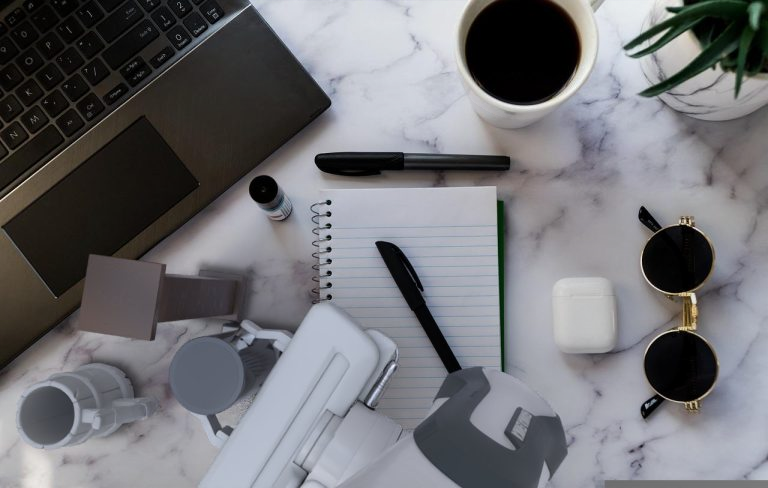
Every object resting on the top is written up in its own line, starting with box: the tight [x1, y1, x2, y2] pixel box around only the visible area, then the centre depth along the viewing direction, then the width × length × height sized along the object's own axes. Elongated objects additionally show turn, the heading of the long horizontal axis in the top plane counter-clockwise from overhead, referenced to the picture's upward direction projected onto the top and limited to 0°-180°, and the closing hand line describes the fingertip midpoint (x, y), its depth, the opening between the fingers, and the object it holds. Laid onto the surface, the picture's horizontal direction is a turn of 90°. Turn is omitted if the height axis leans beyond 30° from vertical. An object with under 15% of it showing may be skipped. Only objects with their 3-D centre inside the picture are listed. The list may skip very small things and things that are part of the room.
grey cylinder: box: [168, 330, 277, 415], centre depth 57 cm, size 6×6×10 cm
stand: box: [76, 253, 249, 342], centre depth 57 cm, size 6×6×22 cm
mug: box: [15, 362, 161, 451], centre depth 62 cm, size 8×12×12 cm, turn 89°
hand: (216, 363), depth 57 cm, fingers closed on grey cylinder, 6 cm apart
